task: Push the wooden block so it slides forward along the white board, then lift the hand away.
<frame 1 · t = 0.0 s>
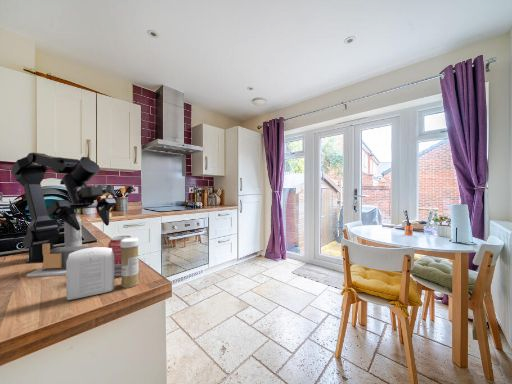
hand: (94, 227, 73), 15 cm above the table, tool tilted 35°, fingers open, 9 cm apart
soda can: (121, 274, 71), on the table
white board: (67, 269, 74), on the table
sprinkles bottle: (130, 285, 63), on the table
white printed cylinder: (73, 249, 99), on the table
grey rounded-corner block: (91, 294, 57), on the table
wooden block: (52, 255, 71), point 6 cm above the table, slide at 0.0 cm
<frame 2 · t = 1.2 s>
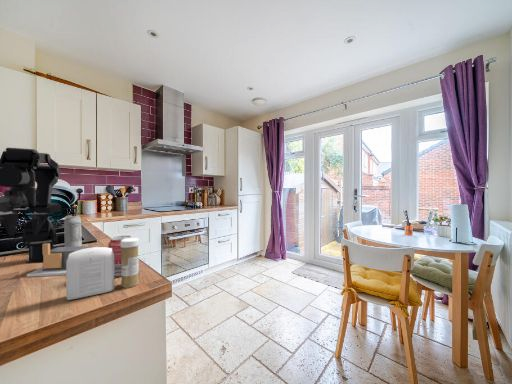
hand: (23, 235, 70), 13 cm above the table, tool pointing down, fingers open, 6 cm apart
nothing on the table moved.
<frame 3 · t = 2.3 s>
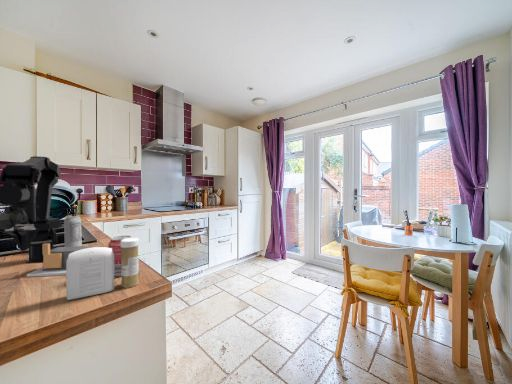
hand: (24, 250, 70), 8 cm above the table, tool pointing down, fingers closed
nothing on the table moved.
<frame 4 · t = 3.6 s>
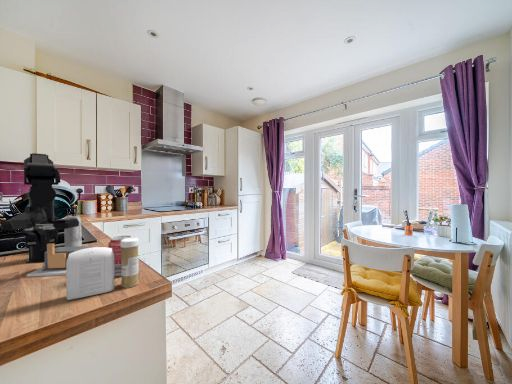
hand: (42, 249, 70), 8 cm above the table, tool pointing down, fingers closed
wooden block: (56, 255, 71), point 6 cm above the table, slide at 1.3 cm, touching gripper
everything else where it was.
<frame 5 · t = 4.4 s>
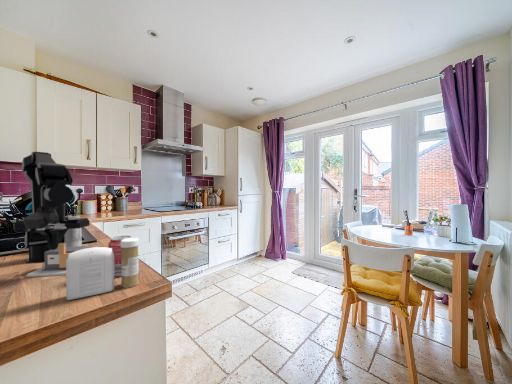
hand: (54, 249, 71), 8 cm above the table, tool pointing down, fingers closed
wooden block: (67, 255, 72), point 6 cm above the table, slide at 4.6 cm, touching gripper
everything else where it was.
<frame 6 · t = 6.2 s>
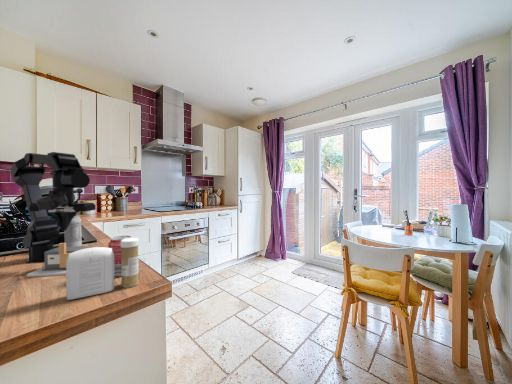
hand: (63, 230, 78), 13 cm above the table, tool pointing down, fingers closed
wooden block: (68, 255, 72), point 6 cm above the table, slide at 4.8 cm
everything else where it was.
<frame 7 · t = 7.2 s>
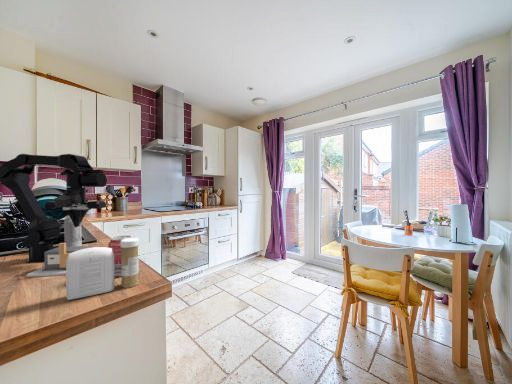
hand: (76, 226, 84), 13 cm above the table, tool pointing down, fingers closed
nothing on the table moved.
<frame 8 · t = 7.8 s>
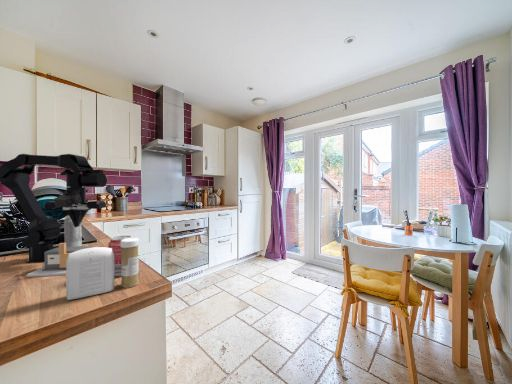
hand: (76, 226, 84), 13 cm above the table, tool pointing down, fingers closed
nothing on the table moved.
at the end: wooden block slide at 4.8 cm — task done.
